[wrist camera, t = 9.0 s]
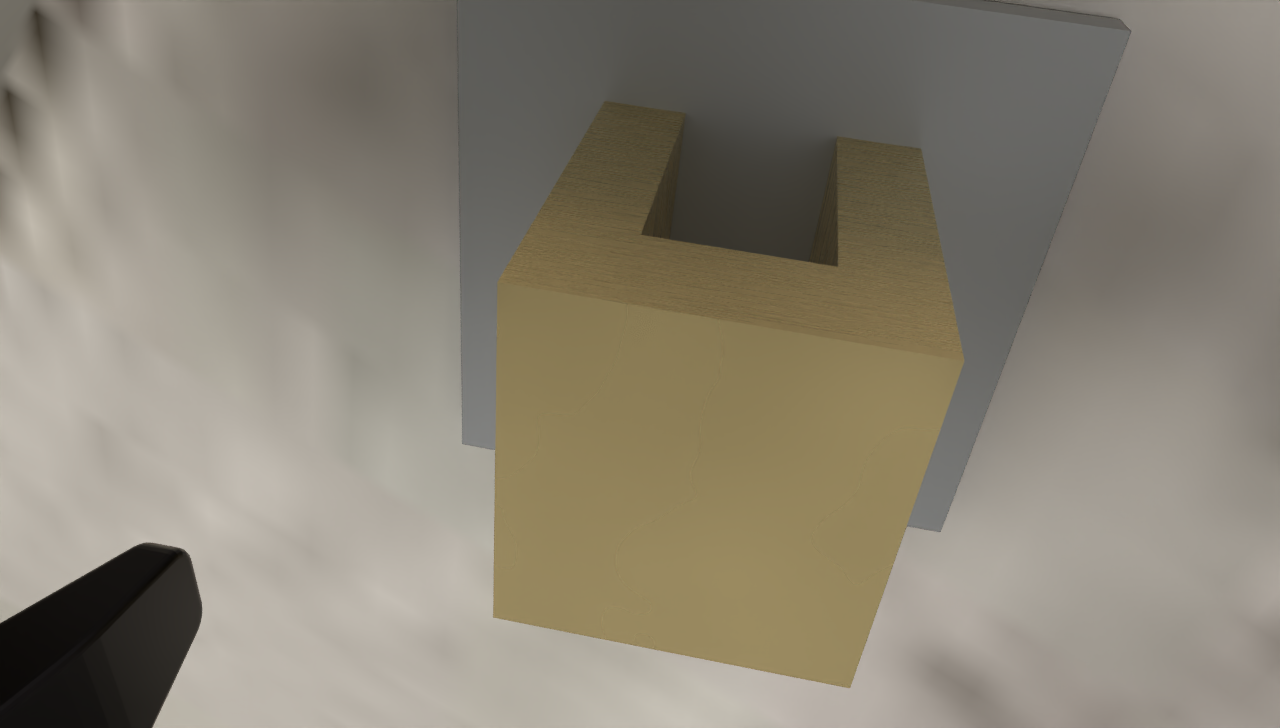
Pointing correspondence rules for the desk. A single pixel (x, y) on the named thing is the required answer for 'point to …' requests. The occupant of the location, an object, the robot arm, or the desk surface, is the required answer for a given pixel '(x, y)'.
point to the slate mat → (789, 144)
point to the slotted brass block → (716, 409)
